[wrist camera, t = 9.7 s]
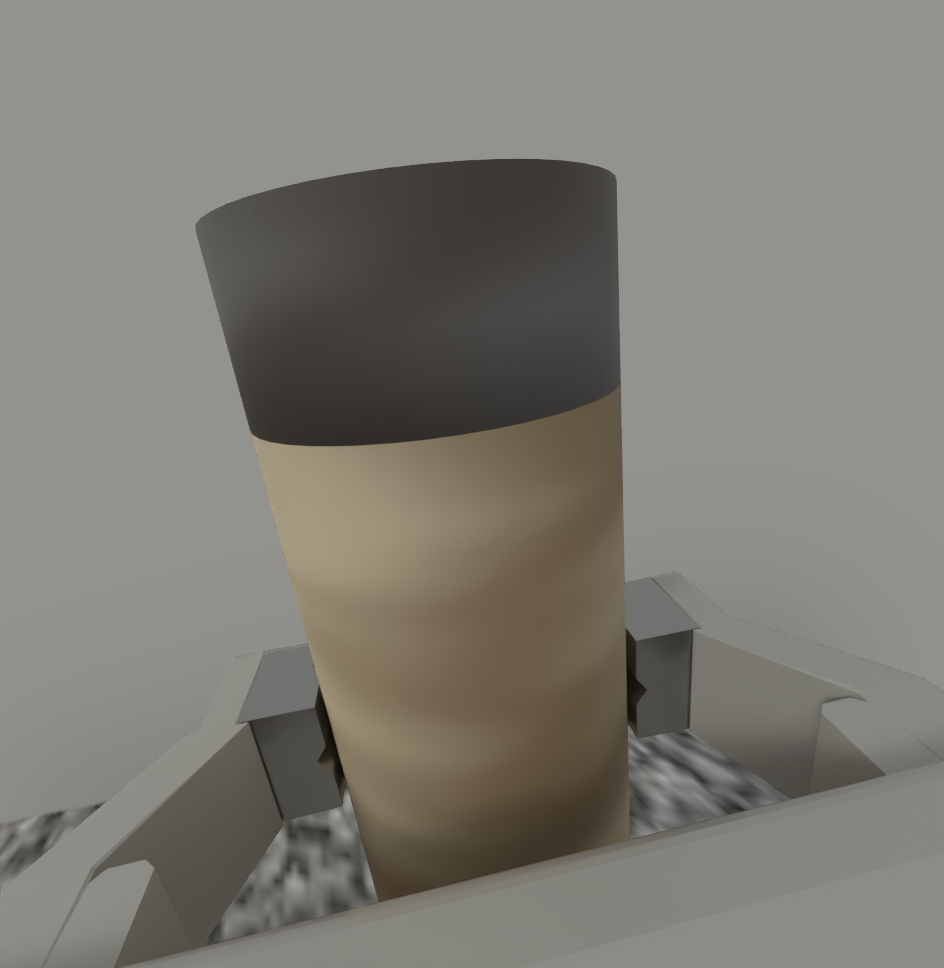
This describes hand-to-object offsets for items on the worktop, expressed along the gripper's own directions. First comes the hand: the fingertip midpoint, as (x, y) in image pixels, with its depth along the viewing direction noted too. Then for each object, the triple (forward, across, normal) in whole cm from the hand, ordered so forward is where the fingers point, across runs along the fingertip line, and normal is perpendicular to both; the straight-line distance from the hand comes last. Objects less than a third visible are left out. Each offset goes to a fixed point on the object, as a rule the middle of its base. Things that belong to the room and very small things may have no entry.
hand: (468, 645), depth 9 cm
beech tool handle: (-1, 0, +8) cm, 8 cm away
